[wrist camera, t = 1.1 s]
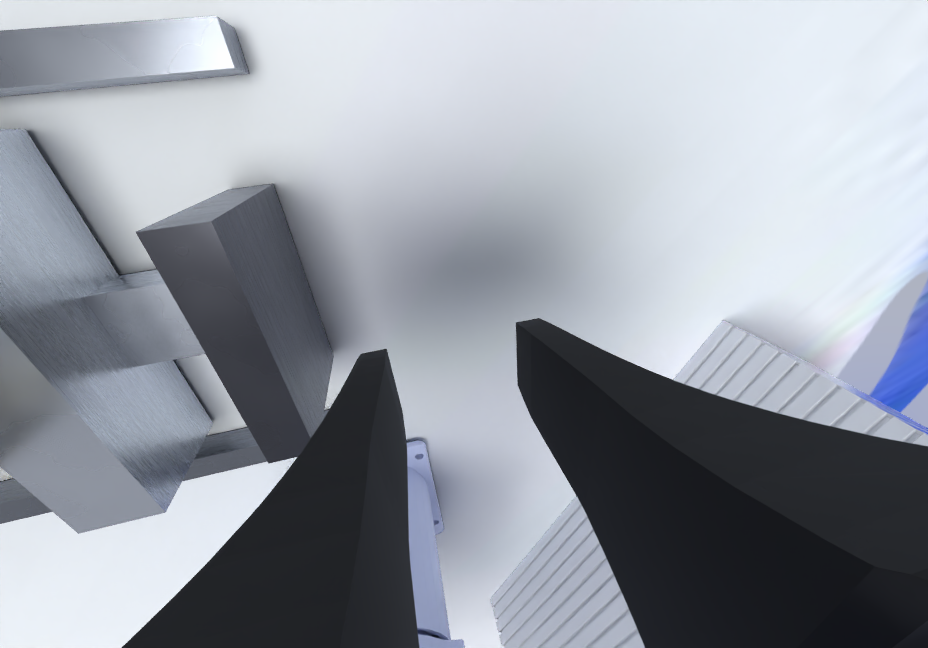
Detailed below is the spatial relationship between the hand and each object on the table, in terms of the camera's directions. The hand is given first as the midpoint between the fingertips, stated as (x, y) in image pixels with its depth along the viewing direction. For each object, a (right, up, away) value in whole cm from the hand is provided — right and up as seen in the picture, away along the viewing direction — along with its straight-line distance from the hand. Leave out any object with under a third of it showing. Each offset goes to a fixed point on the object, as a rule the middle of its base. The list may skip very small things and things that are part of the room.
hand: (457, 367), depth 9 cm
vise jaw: (-11, +2, +6) cm, 13 cm away
